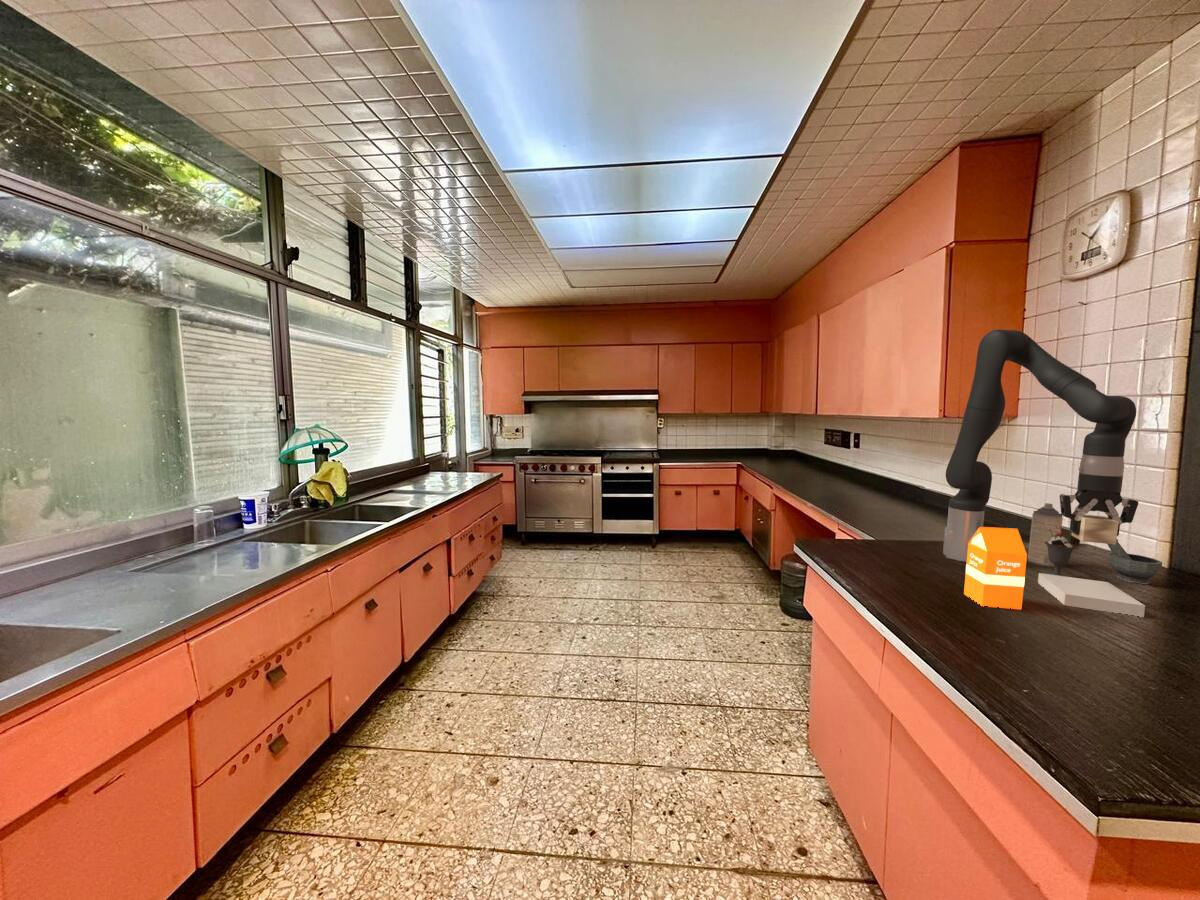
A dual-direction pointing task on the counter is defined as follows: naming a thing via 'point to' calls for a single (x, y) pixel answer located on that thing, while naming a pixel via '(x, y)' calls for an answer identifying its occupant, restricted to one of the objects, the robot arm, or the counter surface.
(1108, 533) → the birch block
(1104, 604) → the cream board
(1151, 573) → the mortar and pestle
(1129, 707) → the counter surface
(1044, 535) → the aerosol can
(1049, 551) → the sundae
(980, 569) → the orange juice
